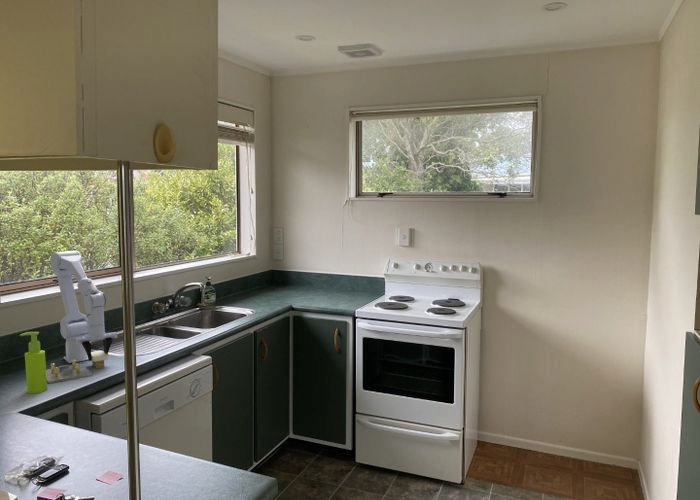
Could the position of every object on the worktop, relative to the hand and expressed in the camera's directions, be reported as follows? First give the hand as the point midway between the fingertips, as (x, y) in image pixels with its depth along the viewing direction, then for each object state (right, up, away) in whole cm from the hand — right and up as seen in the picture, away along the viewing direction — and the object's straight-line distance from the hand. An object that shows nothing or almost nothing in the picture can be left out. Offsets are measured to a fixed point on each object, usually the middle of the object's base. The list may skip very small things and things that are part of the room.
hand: (97, 358), depth 210 cm
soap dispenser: (-8, -6, -27) cm, 29 cm away
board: (0, 0, 0) cm, 0 cm away
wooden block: (0, -3, 0) cm, 3 cm away
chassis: (-7, -4, -10) cm, 13 cm away
